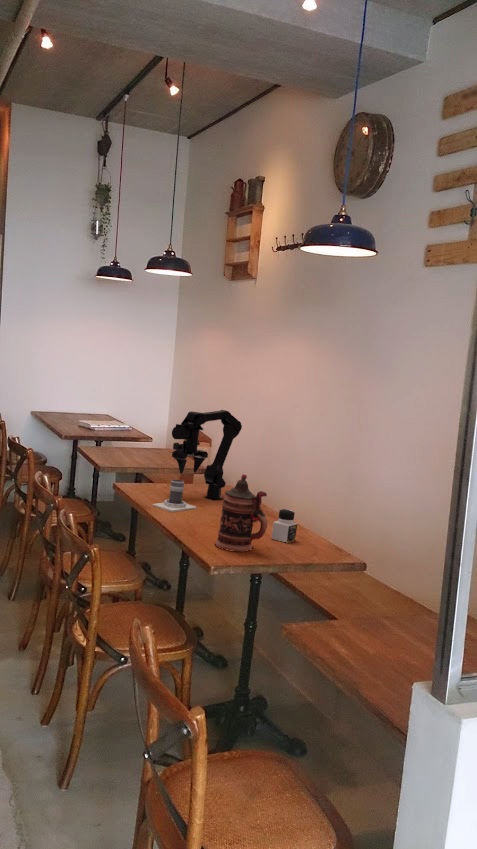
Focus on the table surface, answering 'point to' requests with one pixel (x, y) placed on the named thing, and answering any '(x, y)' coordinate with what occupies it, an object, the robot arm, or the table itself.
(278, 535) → the medicine bottle
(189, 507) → the board
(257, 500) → the beer stein
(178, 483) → the grey round piece
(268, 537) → the table surface
